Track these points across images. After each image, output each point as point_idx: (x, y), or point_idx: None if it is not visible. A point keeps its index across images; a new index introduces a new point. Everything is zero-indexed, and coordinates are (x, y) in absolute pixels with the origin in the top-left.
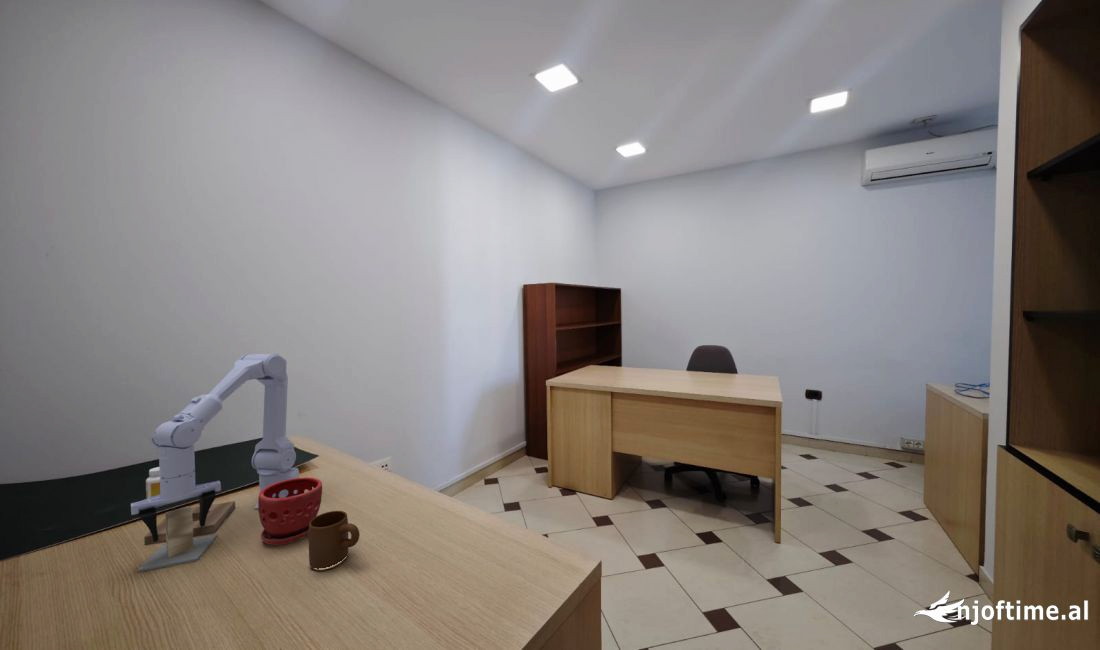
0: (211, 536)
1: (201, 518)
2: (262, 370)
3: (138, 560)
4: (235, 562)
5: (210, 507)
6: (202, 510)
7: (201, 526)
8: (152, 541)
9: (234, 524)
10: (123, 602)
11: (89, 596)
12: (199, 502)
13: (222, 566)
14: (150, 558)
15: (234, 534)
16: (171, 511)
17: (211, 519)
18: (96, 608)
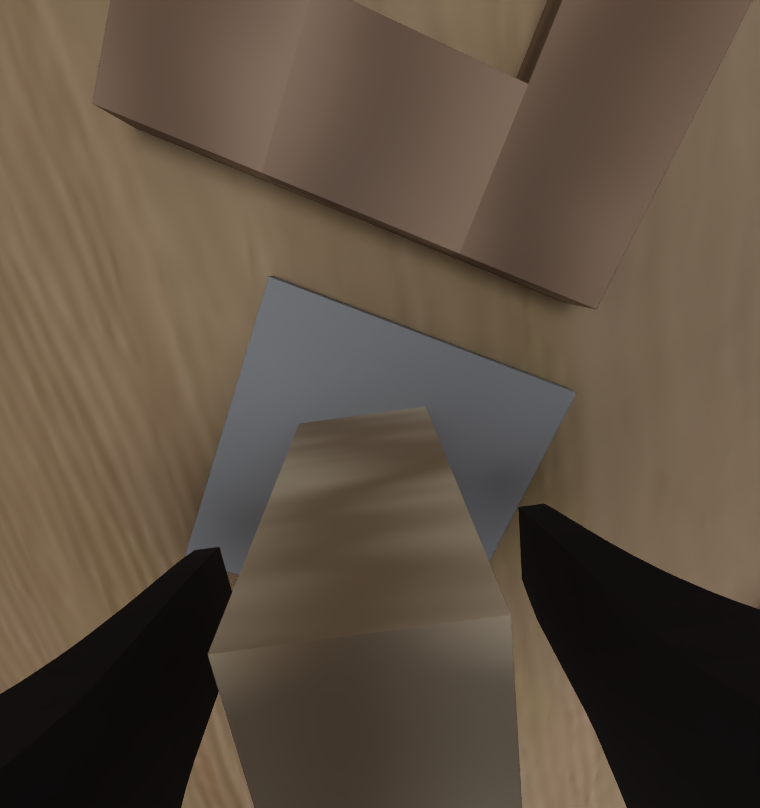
0: (542, 400)
1: (559, 654)
2: None
3: (157, 389)
4: (584, 748)
5: None
6: (617, 779)
7: (526, 579)
8: (179, 143)
9: (700, 253)
10: (198, 767)
11: (38, 635)
12: (652, 649)
13: (535, 746)
14: (223, 459)
15: (655, 438)
16: (283, 662)
17: (600, 150)
18: None
